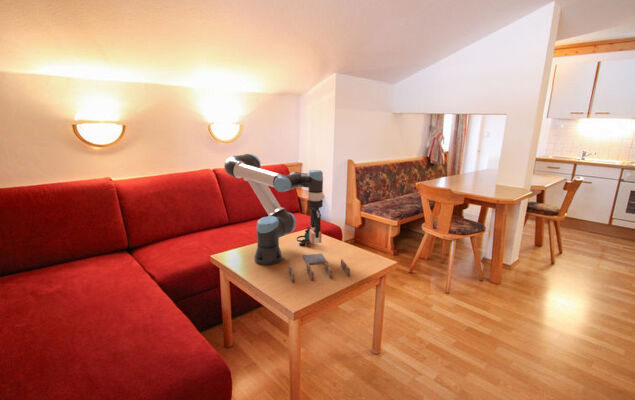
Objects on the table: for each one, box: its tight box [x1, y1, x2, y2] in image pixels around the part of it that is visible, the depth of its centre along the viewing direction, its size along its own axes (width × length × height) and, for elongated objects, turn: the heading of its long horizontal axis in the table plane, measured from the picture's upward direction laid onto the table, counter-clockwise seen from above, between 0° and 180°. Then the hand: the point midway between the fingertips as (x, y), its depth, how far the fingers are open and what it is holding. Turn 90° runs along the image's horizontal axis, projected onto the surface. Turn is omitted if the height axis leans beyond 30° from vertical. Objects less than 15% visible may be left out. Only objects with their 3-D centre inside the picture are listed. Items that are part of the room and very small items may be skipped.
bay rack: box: [288, 259, 351, 284], centre depth 160 cm, size 12×29×4 cm, turn 104°
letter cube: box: [309, 229, 323, 244], centre depth 174 cm, size 6×6×6 cm
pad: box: [302, 253, 328, 266], centre depth 177 cm, size 11×11×1 cm
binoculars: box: [296, 226, 313, 247], centre depth 198 cm, size 9×11×10 cm
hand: (315, 240), depth 174 cm, fingers closed on letter cube, 5 cm apart
